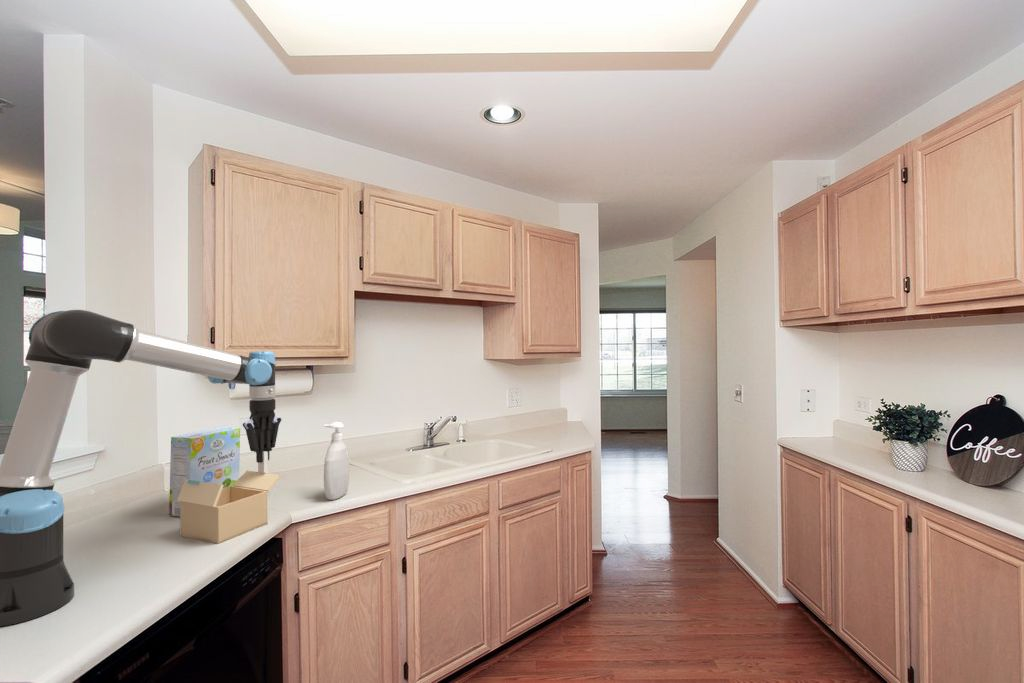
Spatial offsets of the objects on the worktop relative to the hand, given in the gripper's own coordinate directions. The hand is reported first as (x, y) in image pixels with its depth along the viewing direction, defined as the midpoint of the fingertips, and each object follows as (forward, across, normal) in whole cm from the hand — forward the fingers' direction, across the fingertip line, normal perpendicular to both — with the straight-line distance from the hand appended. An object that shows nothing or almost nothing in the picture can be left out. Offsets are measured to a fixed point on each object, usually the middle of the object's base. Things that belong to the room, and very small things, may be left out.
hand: (263, 471), depth 158 cm
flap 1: (+1, -21, 0) cm, 21 cm away
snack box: (+14, -1, +25) cm, 29 cm away
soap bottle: (+14, +24, -8) cm, 29 cm away
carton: (+14, -13, 0) cm, 19 cm away
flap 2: (+2, -2, 0) cm, 3 cm away
